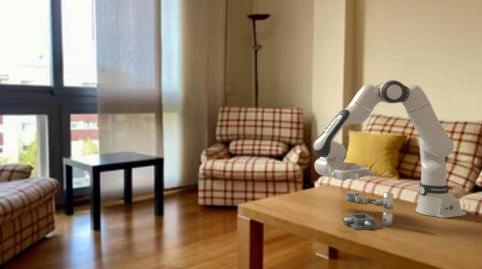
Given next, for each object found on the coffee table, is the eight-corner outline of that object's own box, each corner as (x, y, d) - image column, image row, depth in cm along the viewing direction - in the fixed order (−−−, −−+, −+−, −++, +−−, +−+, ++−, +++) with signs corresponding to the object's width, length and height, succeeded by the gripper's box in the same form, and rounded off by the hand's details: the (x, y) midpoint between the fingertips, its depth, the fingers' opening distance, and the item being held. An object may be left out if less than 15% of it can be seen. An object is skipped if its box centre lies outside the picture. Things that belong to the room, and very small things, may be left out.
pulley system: (363, 209, 209) (386, 205, 214) (362, 200, 208) (386, 196, 214) (331, 198, 234) (353, 195, 239) (331, 190, 233) (353, 187, 239)
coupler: (388, 223, 183) (390, 192, 182) (393, 226, 179) (395, 194, 178) (380, 223, 182) (382, 192, 181) (385, 226, 178) (386, 194, 177)
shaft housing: (366, 219, 188) (367, 211, 188) (382, 229, 175) (382, 221, 174) (338, 220, 186) (339, 212, 186) (352, 230, 172) (352, 222, 172)
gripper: (327, 166, 193) (351, 171, 182) (356, 162, 205) (380, 167, 194) (327, 179, 194) (350, 185, 183) (355, 175, 206) (379, 180, 195)
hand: (366, 175), depth 189 cm, fingers open, 8 cm apart
